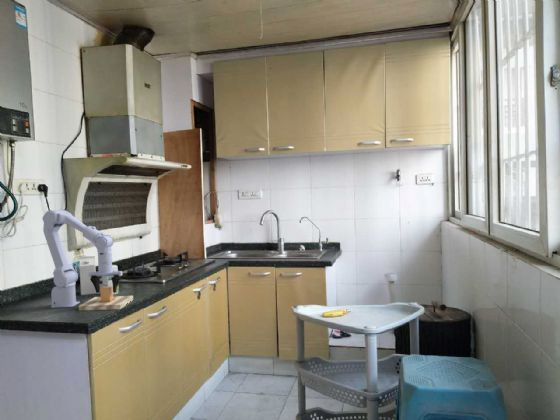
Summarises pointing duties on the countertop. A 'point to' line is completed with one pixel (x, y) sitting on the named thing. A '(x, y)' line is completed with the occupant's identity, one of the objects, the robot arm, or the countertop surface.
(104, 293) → the orange rectangular block
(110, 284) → the syrup box
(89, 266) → the milk carton
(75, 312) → the countertop surface
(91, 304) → the holder plate
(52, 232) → the robot arm
